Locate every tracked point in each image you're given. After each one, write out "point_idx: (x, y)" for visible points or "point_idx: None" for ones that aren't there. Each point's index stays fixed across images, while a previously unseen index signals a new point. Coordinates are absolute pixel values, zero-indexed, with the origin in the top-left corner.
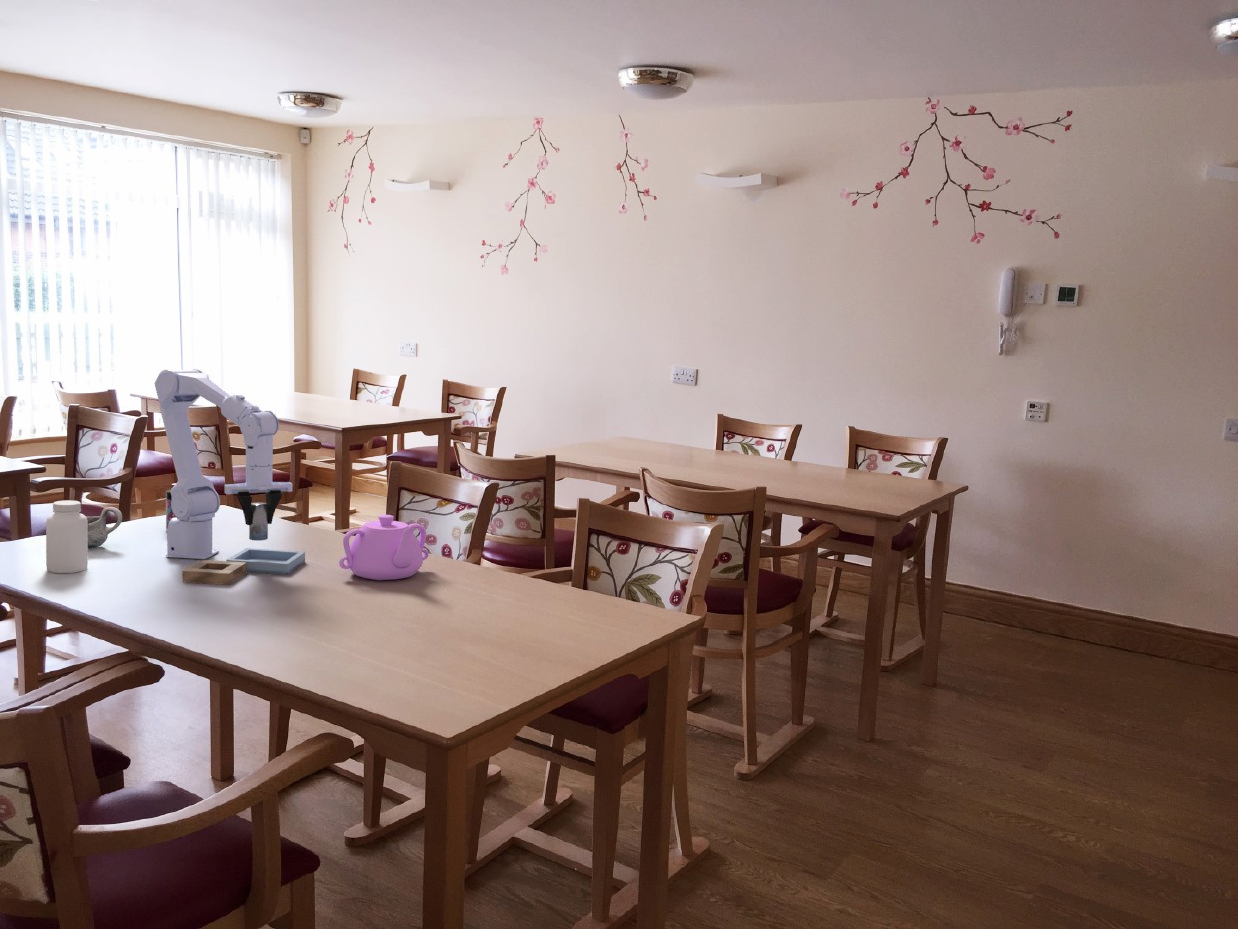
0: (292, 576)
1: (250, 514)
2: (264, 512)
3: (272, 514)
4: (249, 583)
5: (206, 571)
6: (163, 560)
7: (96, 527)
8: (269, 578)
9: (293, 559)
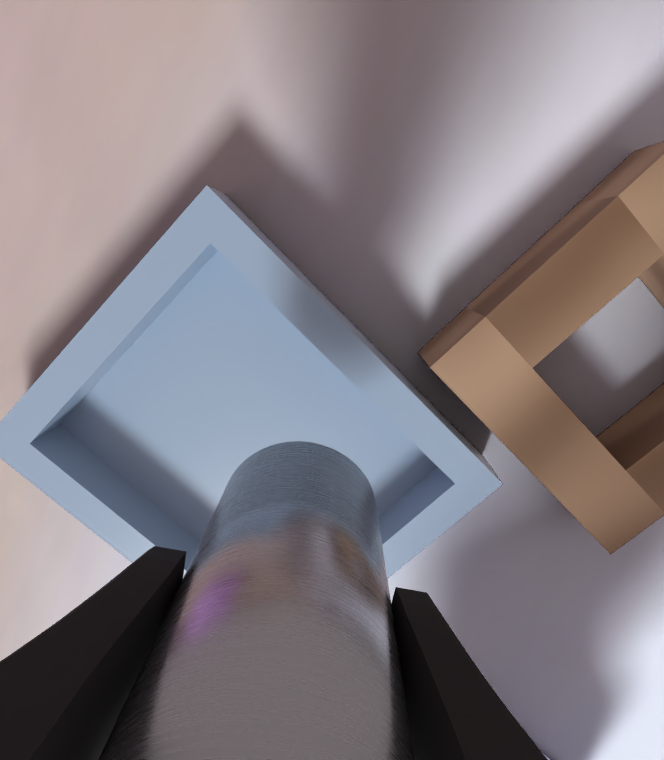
0: (215, 141)
1: (442, 689)
2: (220, 648)
3: (86, 617)
4: (515, 120)
5: None
6: (614, 755)
7: None
8: (357, 172)
9: (124, 286)
